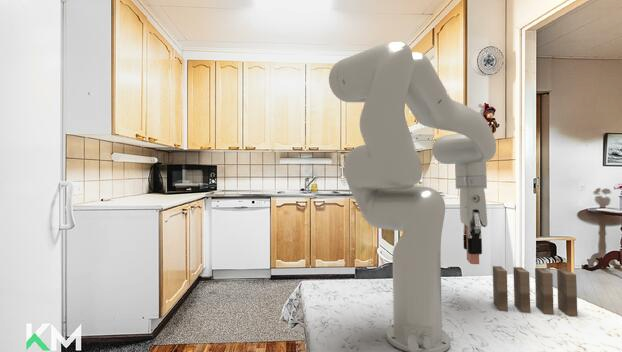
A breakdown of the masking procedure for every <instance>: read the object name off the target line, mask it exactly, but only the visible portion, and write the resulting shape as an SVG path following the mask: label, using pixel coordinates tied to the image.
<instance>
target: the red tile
mask: <svg viewBox="0 0 622 352" xmlns="http://www.w3.org/2000/svg"><path fill="white" fill-rule="evenodd" d="M470 226H474V225H473V224H471V225H470ZM471 230H472V229H471ZM465 235H466V241H467V250H466V260H467V261H468V263H469V264H470V265H480V254H469V253H468V238H469V231H468V226H466V234H465Z"/></svg>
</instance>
